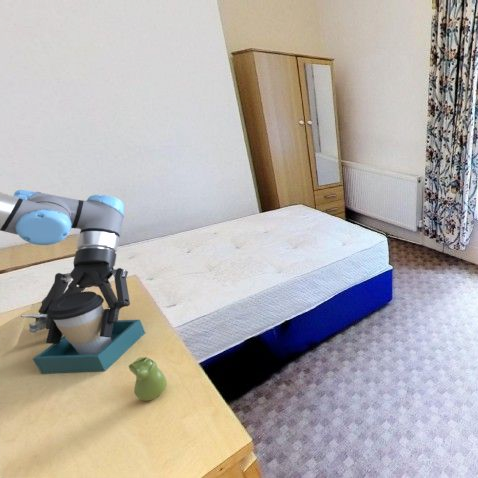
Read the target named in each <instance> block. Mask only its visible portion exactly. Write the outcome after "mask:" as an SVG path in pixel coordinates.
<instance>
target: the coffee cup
mask: <svg viewBox="0 0 478 478" xmlns="http://www.w3.org/2000/svg"><path fill="white" fill-rule="evenodd" d="M104 301H105V298H104V297H103V295H101V294H98V293H96V292H95V291H91V290H90V291H89V290H88V291H87V290H86V291H85V290H84V291H81V292H78V293H74V294H70V295H67V296H64V297H62V298H59V299H57V300H56V301H54V302H52V303H51V304H50V305H49V310H48V311H47V317H48V318H49V319H52V320H54V321H55V323H56V326H57V327H58V328H59V330H60V331H61V332H62V334H63V335H64V336H65V338H66V339H67V340H68V342H69V343H71V344H72V345H73V347H74V348H75V349H76V351H77V352H78V353H79V355H90V354H98V353H99V352H100V351H101V350H102V349H104V348H105V347H106V346H107V345H108V344H109V343H111V342H112V341H111V337H101V336H100V332H101V326H102V320H103V315H104V309H105V308H104V307H103V303H104ZM64 336H63V337H64Z"/></svg>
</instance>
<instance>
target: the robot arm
mask: <svg viewBox="0 0 478 478" xmlns="http://www.w3.org/2000/svg"><path fill="white" fill-rule="evenodd" d="M124 213H125V203H124V201H122V200H121V199H119V198H117V197H115V196H111V195H106V194H93V195H90V196H88V197H87V200H84V199H83V200H81V199H77V198H70V197H65V196H61V195H55V194H50V193H45V192H41V191H34V190H25V189H18V190H15V191H14V193H13V195H11V194H8V193H4V192H1V191H0V231H1V232H4V233H9V234H14V235H17V236H19V237H20V239H22V240H23V241H24V242H27V243H28V244H32V245H35V246H50V245H55V244H59V243H60V242H62V241H64V240H65V239H67V237H68V236H69V234H70V233H71V230H72V229H79V230H80V231H79V236H78V240H77V244H76V249H77V250H76V251H75V254H74V258H73V262H72V263H73V269H72V270H71V271H70V272H68V273H61V272H58V273H56V274H55V275H54V281H53V284H52V286H51V288H50V289H49V291H48V293H47V295H46V296H45V297H46V298H45V297H44V298H45V300H44V302H43V304H42V303H41V306H40V307H39V309H38V313H39V314H40V313H42V314H47V311H48V310H49V305H50V304H51V303H52V302H54V301H56V300H57V299H59V298H62V297H64V296H67V295H70V294H74V293H78V292H84V291H85V289H88V288H94V287H96V288H98V289H99V291H100V293H101V294H102V297H103V299H104V301H105V303H106V304H107V306H106V307H107V308H103V309H104V315H103V320H102V326H101V332H100V336H101V337H111V335H112V329H113V323H114V322H117V320H119V314H120V310H121V309H122V308H125V307H129V306H130V305H131V301H130V295H129V288H128V283H127V277H128V274H129V271H128V270H126V269H123V268H122V267H118V268H116V269H115V268H114V267H115V265H116V260H117V252H118V248H119V242H120V236H121V231H122V227H123V221H124V218H125V216H124ZM112 276H113V277H114V285H115V291H114V290H113V288H112V284H111V283H110V281H109V280H110V279H111V278H112ZM71 279H72V280H71ZM115 292H116V294H115ZM45 329H46V330H48V333H47V337H46V341H45V344H51V345H53V344H60V340H61V338H62V336H61V335H62V332H61V331H60V330H59V328H58V327H57V326H56V323H55V321H54V320H52V319H49V318H48V321H47V325H46V328H45Z"/></svg>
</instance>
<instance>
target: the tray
mask: <svg viewBox="0 0 478 478" xmlns="http://www.w3.org/2000/svg"><path fill="white" fill-rule="evenodd" d="M144 335H146V331H145V329H144V326H143V323H142V321H141V319H118V320H117V322H114V323H113V329H112V335H111V341H112V342H111V343H109V344H108V345H107V346H106V347H105V348H104V349H102V350H101V351H100V352H99V353H98V354H90V355H79V353H78V352H77V351H76V349H75V348H74V347H73V345H72V344H71V343H69V342H68V340H67V339H66V338H65V336H61V340H60V344H51V345H50V346H48V347H47V348H45V349H44V350H43V351H42V352H40V353H39V354H37V355H36V356H34V357H33V358H32V360H33V362H34V364H35V366H36V367H37V369H38V371H39V372H40V374H41V375H45V374H46V375H47V374H69V373H70V374H71V373H72V374H73V373H94V372H106V371H107V370H108V369H109V368H110V367H111V366H112V365H114V363H115V362H117V360H119V359H120V358H121V357H122V356H123V355H124V354H125V353H126V352H127V351H128V350H129V349H130V348H131V347H133V346H134V344H136V342H137V341H139V340H140V339H141V338H142V337H143V336H144Z"/></svg>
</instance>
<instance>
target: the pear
mask: <svg viewBox="0 0 478 478" xmlns="http://www.w3.org/2000/svg"><path fill="white" fill-rule="evenodd" d="M128 369H129V371H130V372H131V373H132V374H133V375H135V377H136V379H135V383H134V387H133V388H134V389H133V393H134V395H135V397H136V398H137V399H139V400H140V401H144V402H145V401H152V400H155V399H156V398H159V397H160V396H161V395H162V394H163V393H164V392H165V391H166V388H167V385H168V383H167V378H166V376H165V374H164V373H163V371H162V370H161V369H160V368H159V367H158V365H157V362H156V361H154V360H153V359H151V358H149V357H148V356H143V357H139V358H137V359H135V361H133V362H132V363H130V364H129V365H128Z"/></svg>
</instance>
